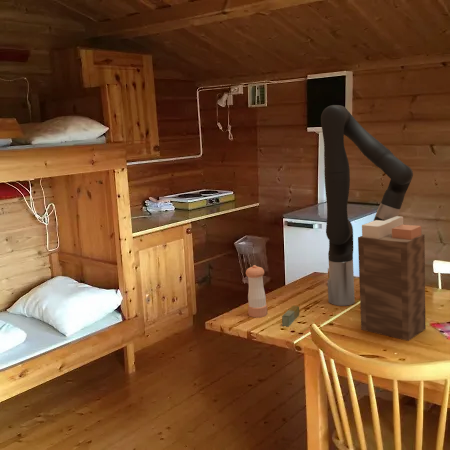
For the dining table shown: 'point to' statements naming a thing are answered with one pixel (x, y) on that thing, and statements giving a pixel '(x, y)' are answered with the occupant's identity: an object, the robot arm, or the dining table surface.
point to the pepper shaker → (256, 292)
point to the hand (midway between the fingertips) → (370, 259)
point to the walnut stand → (392, 285)
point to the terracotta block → (406, 232)
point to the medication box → (290, 316)
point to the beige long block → (380, 227)
